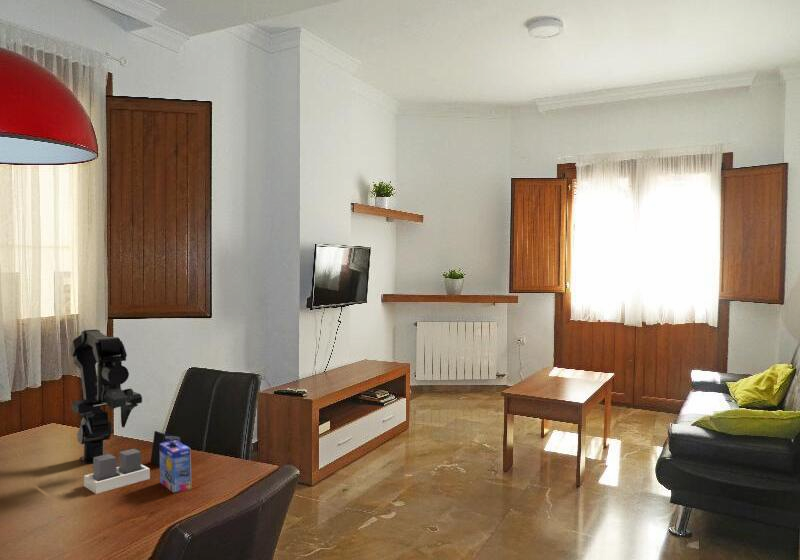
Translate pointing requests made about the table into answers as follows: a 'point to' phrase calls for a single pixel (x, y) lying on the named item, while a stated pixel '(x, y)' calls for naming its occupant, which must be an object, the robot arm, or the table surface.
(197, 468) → the table surface
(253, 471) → the table surface
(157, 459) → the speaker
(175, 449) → the ink cartridge box
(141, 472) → the dock
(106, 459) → the grey rectangular block
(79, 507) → the table surface
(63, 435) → the table surface
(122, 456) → the twin plug
